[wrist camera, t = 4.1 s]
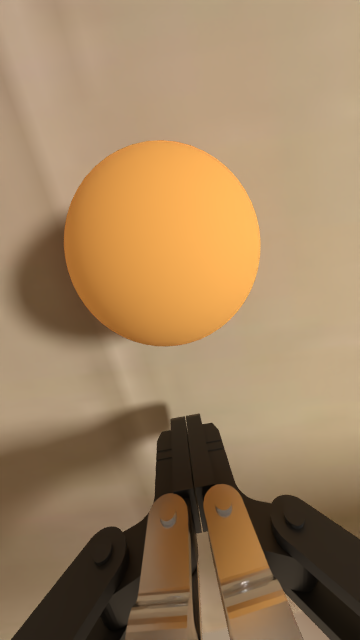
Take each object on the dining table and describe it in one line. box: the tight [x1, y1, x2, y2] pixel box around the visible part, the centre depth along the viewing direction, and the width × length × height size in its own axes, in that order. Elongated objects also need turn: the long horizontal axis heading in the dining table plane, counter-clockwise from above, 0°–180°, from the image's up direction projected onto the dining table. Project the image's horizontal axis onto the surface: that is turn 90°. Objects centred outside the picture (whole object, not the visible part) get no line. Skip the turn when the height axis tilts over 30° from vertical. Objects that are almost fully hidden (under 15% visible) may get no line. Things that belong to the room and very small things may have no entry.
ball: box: [64, 140, 260, 346], centre depth 7 cm, size 6×6×6 cm
